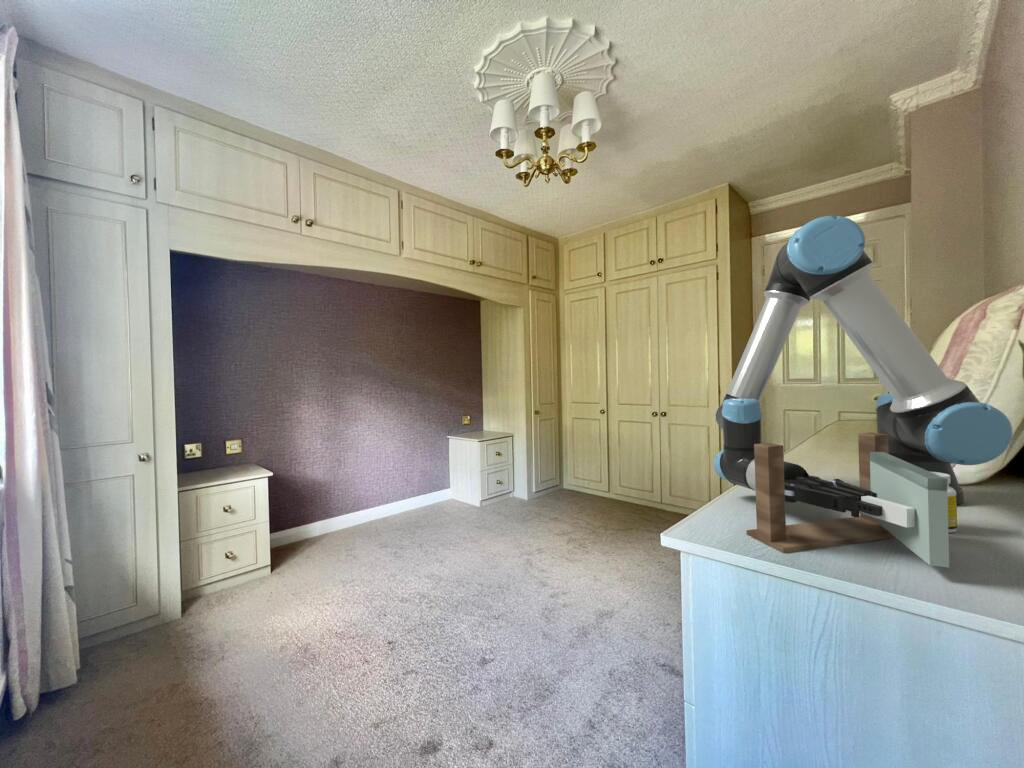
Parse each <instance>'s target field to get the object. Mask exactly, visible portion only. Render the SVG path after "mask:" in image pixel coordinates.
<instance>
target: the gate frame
mask: <svg viewBox="0 0 1024 768" xmlns="http://www.w3.org/2000/svg"><path fill="white" fill-rule="evenodd" d="M857 438H858V439H857V442H858V446H857V447H858V473H859V474H858V477H859V478H858V479H859V482H858V483H859V487H860V488H863V489H866V490H869V491H870V490H871V481H870V452H885V453H887V454H889V448H888V434H880V433H877V432H861V433H860V432H859V433H858V435H857ZM754 455H755V486H756V491H755V510H756V513H755V515H756V528H755V529H754V528H752V529H747V530H745V532H746V536H748V535H749V536H748V537H750V536H751V538H752V537H753V538H752V539H754V540H757V541H759V542H761V543H763V544H765V545H767V546H769V547H771V548H773V549H775V550H777V551H779V552H780V553H790V552H799V551H806V550H813V549H814V550H815V549H821V548H827V547H835V546H843V545H850V544H856V543H863V542H873V541H879V540H885V539H886V540H887V539H893V538H896V537H895V536H893V535H892V534H891V533H890V532H889V531H887V530H886V529H885V528H884V527H883V526H881V525H880V524H879V523H878V522H876V521H875V520H874V519H873V518H872V517H871V516H868V515H865V514H862V513H861V511H859V517H852V516H851V517H842V518H841V517H840V518H836V519H835V518H834V519H826V520H818V521H811V522H809V521H808V522H801V523H793V524H787V523H786V519H787V518H786V502H785V484H784V461H785V460H784V458H785V456H784V445H782V444H776V443H772V442H764V443H763V442H761V444H754Z"/></svg>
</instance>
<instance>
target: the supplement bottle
mask: <svg viewBox="0 0 1024 768" xmlns="http://www.w3.org/2000/svg"><path fill="white" fill-rule="evenodd" d="M931 473H934V474H936V475H938V476H941V477H943V478H945V479H947V493H948V534H949V533H951V534H952V533H955V532H957V531H958V509H957V508H958V504H957V496H956V491H955V490H954V489H953V488H952V487H949V484H950V482H951V480H950V475H948V474H945V473H939V472H931Z"/></svg>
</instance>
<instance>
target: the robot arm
mask: <svg viewBox="0 0 1024 768" xmlns="http://www.w3.org/2000/svg"><path fill="white" fill-rule="evenodd" d="M865 245H866V237H865V232H864V231H863V228H862V227H861V226H860V225H859V224H858V223H857V222H856V221H854V220H853V219H850V218H848V217H845V216H842V215H841V216H840V215H839V216H838V215H825V216H820V217H817V218H815V219H813V220H810V221H808V222H807V223H806V224H804V225H802V226H801V227H800V228H798V229H796V231H795V232H794V233H793V234H792V235H791V237H790V238H789V240H787V242H786V243H785V244H784V245H783V246H782V247H781V248H780V250H779V251H778V253H777V255H776V258H775V260H774V263H773V267H772V269H771V273H770V276H769V279H768V282H767V284H766V287H765V288H764V289H765V290H764V292H763V295H764V298H765V301H764V304H763V306H762V309H761V311H760V313H759V315H758V317H757V321H756V323H755V324H754V327H753V330H752V332H751V335H750V337H749V339H748V341H747V343H746V345H745V346H746V347H745V348H744V351H743V353H742V355H741V357H740V359H739V362H738V365H737V367H736V370H735V371H734V375H733V377H732V379H731V381H730V384H729V386H728V388H727V391H726V392H725V396H724V397H723V400H722V402H721V404H720V405H719V407H718V408H717V409H716V412H715V422H716V423H717V425H718V427H719V428H720V429H721V430H722V434H723V435H722V437H723V446H722V447H723V448H722V449H721V450H720V451H718V452H717V453H716V455H715V459H714V460H713V469H714V471H715V473H716V475H718V477H719V478H720V479H723V480H725V481H727V482H729V483H730V484H732V485H736V486H740V487H743V488H746V489H749V490H752V491H755V492H756V486H755V455H754V444H762V416H763V415H762V414H763V413H762V412H761V403H760V400H761V398H762V396H763V395H764V392H765V389H766V387H767V385H768V382H769V380H770V379H771V376H772V374H773V372H774V370H775V367H776V365H777V362H778V361H779V359H780V356H781V354H782V352H783V349H784V347H785V345H786V342H787V341H788V337H789V335H790V333H791V331H792V329H793V326H794V324H795V322H796V320H797V317H798V315H799V313H800V312H801V309H802V307H804V306H807V305H808V304H809V303H810V300H811V299H812V300H818V301H821V302H823V304H824V305H825V306H826V308H827V309H828V311H829V312H830V313H831V315H832V316H833V318H834V319H835V321H837V323H838V324H839V326H840V327H841V328H842V330H843V331H844V333H846V335H847V337H848V339H850V341H851V342H852V343H853V345H854V346H855V347H856V349H857V350H858V352H859V353H860V355H862V357H863V358H864V360H865V361H866V363H867V364H868V366H869V367H870V368H871V370H872V371H873V373H875V375H876V376H877V378H878V379H879V380H880V382H881V384H882V385H883V386H884V388H885V389H886V391H887V392H888V393H883V394H880V395H879V396H878V397H877V398H876V399H877V400H876V406H875V412H876V433H880V434H888V448H889V455H892V456H894V457H896V458H899V459H901V460H903V461H906V462H908V463H910V464H913V465H915V466H917V467H920V468H922V469H924V470H927V471H929V472H939V473H945V474H948V475H950V480H951V482H950V484H949V487H952V488H953V489H954V490H955V491H956V496H957V505H961V504H963V503H964V501H965V499H964V498H965V497H964V496H965V495H964V490H963V488H962V487H961V486H960V484H959V481H958V478H957V475H956V473H955V472H954V469H953V466H952V464H954V465H955V464H956V465H960V466H961V465H962V466H977V465H982V464H985V463H988V462H991V461H993V460H995V459H997V458H998V457H1000V456H1001V455H1002V454H1003V453H1004V452H1005V451H1007V449H1008V446H1009V445H1010V442H1012V438H1013V427H1012V423H1011V421H1010V419H1009V418H1008V416H1007V415H1006V414H1005V413H1003V412H1002V411H1001V410H999V409H998V408H996V407H994V406H992V405H991V404H988V403H984V402H980V400H979V399H978V397H976V395H975V394H974V393H973V391H972V390H971V388H969V386H968V385H967V383H965V382H964V381H962V380H956V379H952V378H949V377H948V376H947V375H946V374H945V373H944V370H942V368H941V367H940V366H939V364H938V363H937V361H936V360H935V358H933V356H931V354H930V353H929V351H928V350H927V349H926V348H925V345H924V344H923V343H922V342H921V340H919V338H918V337H917V335H916V334H915V333H914V331H913V330H912V329H911V328H910V326H909V325H908V323H907V322H906V321H905V320H904V319H903V317H902V316H901V315H900V313H899V312H898V310H897V309H896V307H895V306H893V304H892V303H891V301H890V299H888V297H887V296H886V295H885V294H884V292H883V291H882V289H881V288H880V286H878V284H877V283H876V281H875V280H874V278H872V276H871V271H872V269H873V266H874V262H873V261H872V260H871V258H870V257H869V255H868V254H867V253H866V251H865V250H864V249H865V247H866V246H865ZM784 484H785V503H789V504H790V503H791V504H792V503H798V502H799V503H802V504H807V505H811V506H814V507H818V508H823V509H827V510H829V511H834V512H839V513H846V512H847V511H848V512H849V513H851V514H850V516H851V517H859V516H860V511H861V513H862V514H865V515H868V516H872V517H875V518H878V519H881V520H884V521H887V522H891V523H894V524H897V525H900V526H903V527H907V528H909V527H915V508H913V507H909V506H905V505H901V504H898V503H894V502H890V501H887V500H883V499H879V498H877V493H874V492H872V491H871V490H870V491H869V490H866V489H863V488H860V486H856V485H853V484H850V483H848V482H845V481H844V480H842V479H839V478H834V479H833V480H832V481H829V480H825V479H822V478H820V477H819V476H815V475H810V474H809V473H808V472H807V471H806V469H805V468H804V467H803V466H801V465H800V464H797V463H792V462H788V461H785V460H784Z"/></svg>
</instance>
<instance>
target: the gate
mask: <svg viewBox="0 0 1024 768" xmlns="http://www.w3.org/2000/svg"><path fill="white" fill-rule="evenodd" d="M870 481H871V491H872V492H874V493H877V498H879V499H883V500H887V501H890V502H894V503H898V504H901V505H905V506H909V507H913V508H915V527H909V528H907V527H903V526H900V525H897V524H894V523H891V522H887V521H884V520H881V519H878V518H875V517H872V516H871V517H872V518H873V519H874V520H875V521H876V522H878V523H879V524H880V525H881V526H883V527H884V528H885V529H886V530H887V531H889V532H890V533H891V534H892V535H893V536H895V537H894V538H896V540H898V541H900V542H901V543H902V544H903V545H905V547H906V548H908V549H909V550H911V552H913V553H914V554H915V555H917V556H918V557H919V558H920V559H921V560H923V561H924V562H925V563H926V564H928V565H929V566H932V567H934V566H935V567H942V568H950V548H949V547H950V546H949V545H950V541H949V538H950V537H949V533H948V493H947V479H945V478H943V477H941V476H938V475H936V474H934V473H931V472H929V471H927V470H924V469H922V468H920V467H917V466H915V465H913V464H910V463H908V462H906V461H903V460H901V459H899V458H896V457H894V456H892V455H889V454H887V453H885V452H870Z"/></svg>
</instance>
